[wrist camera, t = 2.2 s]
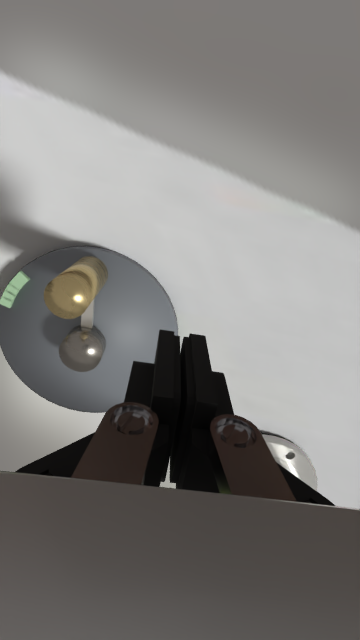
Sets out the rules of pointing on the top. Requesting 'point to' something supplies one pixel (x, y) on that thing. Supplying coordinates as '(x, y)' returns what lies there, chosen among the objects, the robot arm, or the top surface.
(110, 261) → the dial plate
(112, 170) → the top surface
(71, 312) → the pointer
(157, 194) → the top surface
